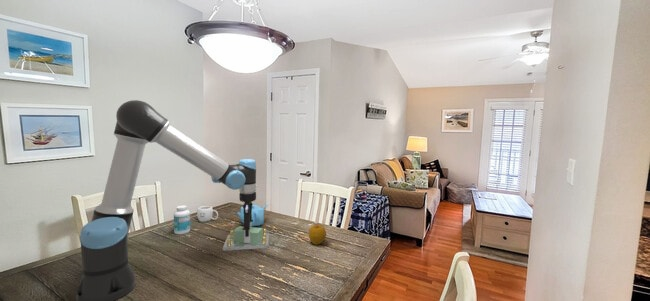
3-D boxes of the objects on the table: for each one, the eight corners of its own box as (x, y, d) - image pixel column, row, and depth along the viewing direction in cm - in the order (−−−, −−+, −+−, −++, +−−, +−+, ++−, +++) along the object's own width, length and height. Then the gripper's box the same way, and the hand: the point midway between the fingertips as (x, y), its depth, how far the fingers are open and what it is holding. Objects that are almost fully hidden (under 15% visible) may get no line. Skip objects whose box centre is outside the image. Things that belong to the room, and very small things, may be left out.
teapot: (232, 223, 151) (232, 204, 150) (262, 217, 162) (262, 199, 161) (242, 233, 139) (242, 212, 138) (274, 226, 150) (274, 206, 149)
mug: (194, 222, 151) (193, 209, 151) (201, 217, 160) (201, 204, 159) (214, 223, 151) (214, 210, 150) (221, 218, 159) (221, 205, 158)
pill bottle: (173, 231, 139) (172, 205, 138) (189, 228, 143) (188, 203, 142) (174, 236, 133) (174, 209, 132) (191, 233, 137) (190, 207, 136)
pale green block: (262, 238, 130) (262, 228, 130) (257, 243, 124) (257, 232, 124) (239, 235, 132) (239, 226, 131) (233, 241, 126) (233, 230, 125)
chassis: (269, 235, 137) (269, 227, 136) (268, 247, 123) (268, 238, 123) (228, 237, 133) (228, 228, 132) (222, 250, 119) (222, 240, 119)
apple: (329, 244, 129) (330, 226, 128) (315, 248, 124) (315, 230, 123) (318, 238, 135) (319, 221, 135) (305, 242, 130) (305, 224, 129)
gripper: (254, 197, 117) (254, 247, 119) (257, 186, 136) (257, 230, 139) (236, 198, 115) (237, 249, 117) (241, 187, 135) (242, 230, 137)
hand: (248, 238), depth 128 cm, fingers closed on pale green block, 7 cm apart
